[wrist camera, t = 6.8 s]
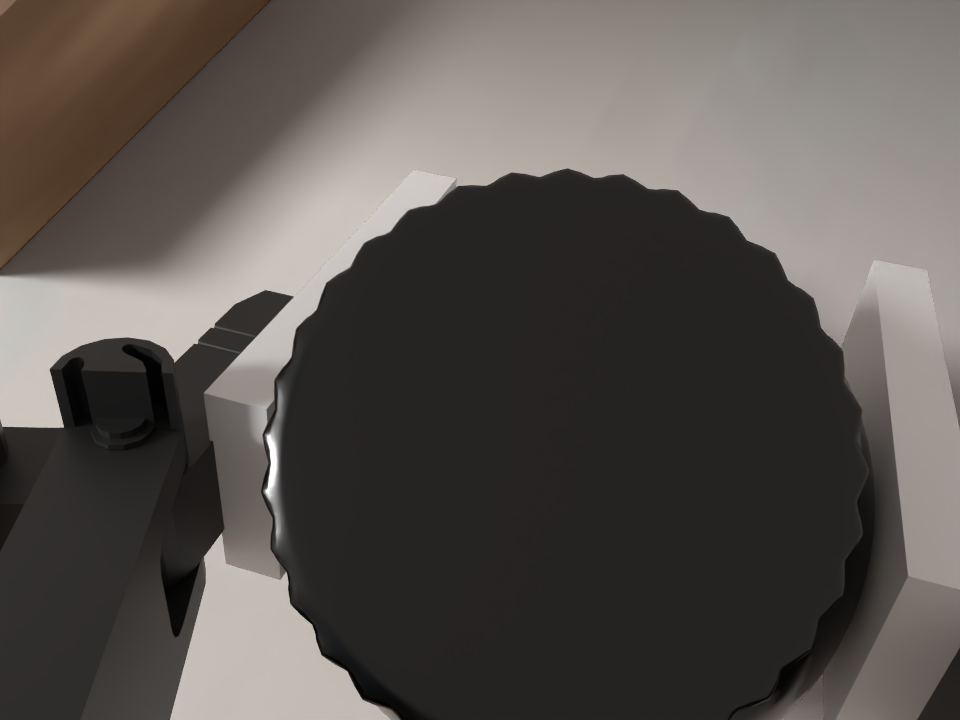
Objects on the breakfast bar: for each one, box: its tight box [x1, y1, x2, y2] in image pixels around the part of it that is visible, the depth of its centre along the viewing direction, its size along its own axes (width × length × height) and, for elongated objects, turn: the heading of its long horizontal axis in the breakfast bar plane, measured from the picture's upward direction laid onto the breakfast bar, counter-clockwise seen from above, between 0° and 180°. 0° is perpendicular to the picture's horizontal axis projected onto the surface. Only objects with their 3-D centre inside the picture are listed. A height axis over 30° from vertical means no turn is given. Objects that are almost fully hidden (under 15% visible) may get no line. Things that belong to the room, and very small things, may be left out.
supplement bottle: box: [261, 169, 875, 720], centre depth 13 cm, size 7×7×12 cm
